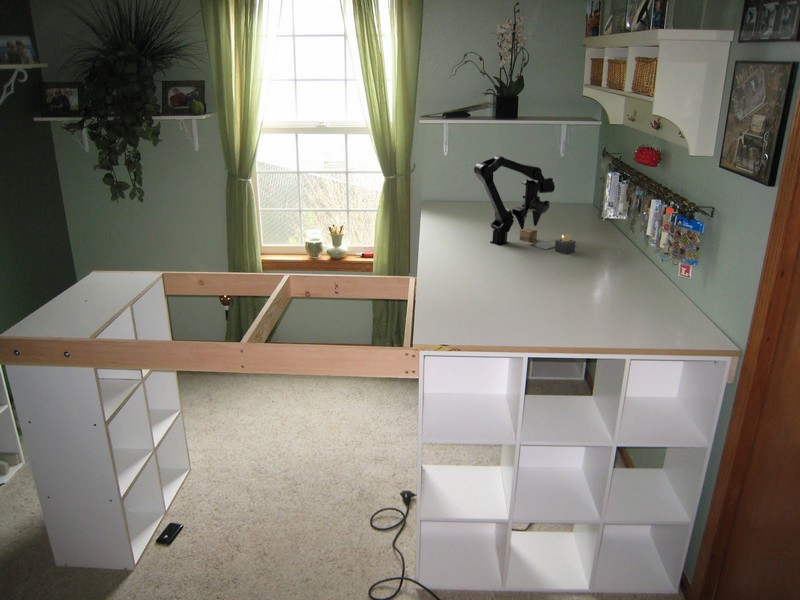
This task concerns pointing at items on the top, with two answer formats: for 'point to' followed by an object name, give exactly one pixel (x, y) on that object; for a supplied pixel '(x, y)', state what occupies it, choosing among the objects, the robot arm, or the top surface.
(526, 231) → the light brown cube-like block
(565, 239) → the pin
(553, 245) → the plate
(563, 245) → the press block
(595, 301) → the top surface
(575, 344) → the top surface
